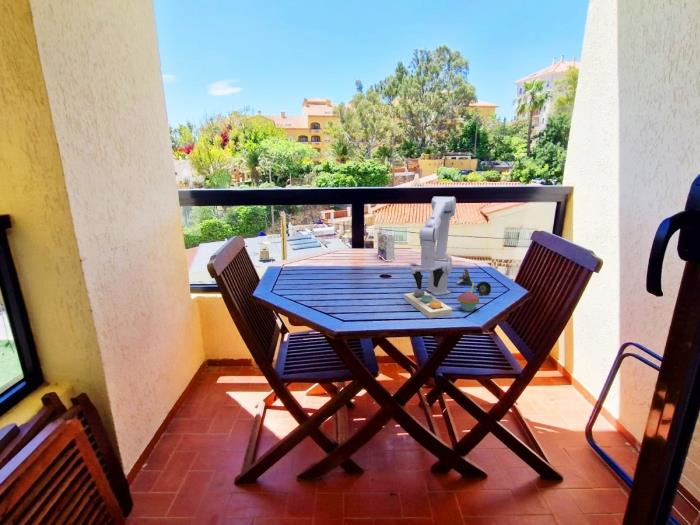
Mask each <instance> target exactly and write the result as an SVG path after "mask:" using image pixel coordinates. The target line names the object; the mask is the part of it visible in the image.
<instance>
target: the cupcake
mask: <svg viewBox="0 0 700 525" xmlns="http://www.w3.org/2000/svg"><path fill="white" fill-rule="evenodd" d="M474 286H475V281H473V282H472V286H471V290H470V291H466V292H462V293H461V294H460V293H459V295H458V296H457V302H458V303H460V306H461V309H462V311H465V312H473V311H475V308H476V306H477V304H479V303H480V297H479V294H476V293H475V292H473V291H474V288H475V287H474Z"/></svg>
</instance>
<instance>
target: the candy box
mask: <svg viewBox="0 0 700 525" xmlns="http://www.w3.org/2000/svg"><path fill="white" fill-rule="evenodd" d="M378 255H380V256H381V257H383V258H384V259H385V260H391V259H394V260H395V234H393V233H391V232H388V231H386V230H382V231H377V256H378Z"/></svg>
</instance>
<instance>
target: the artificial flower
mask: <svg viewBox="0 0 700 525" xmlns="http://www.w3.org/2000/svg"><path fill="white" fill-rule="evenodd" d="M461 275H462V276H459V275H458V274H456V275H455V276H456V277H457V278H458V279H459V280H458V281H456V283H457V284H458V285H460V284H461V283H463V282H464V283H466V284H467V285H469V286H471V287H472V283H473V282H472V280H471V273H470V271H469V270H468V269H466V268H464V269H463V272H462V274H461ZM473 288H475V291H476V292H477V293H478V294H477V295H478V296H480V297H482V296H483V297H485V296H488V295H490V294H491V292H492V288H491V284H490V283H489V282H487V281H481V282H478V283H477V285H474V287H473Z"/></svg>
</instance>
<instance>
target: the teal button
mask: <svg viewBox="0 0 700 525" xmlns="http://www.w3.org/2000/svg"><path fill="white" fill-rule="evenodd" d="M432 296H433V295H431V296H428V295H425V296H422V302H423V303H424V304H427V303H430V302H431V301H432Z"/></svg>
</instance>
